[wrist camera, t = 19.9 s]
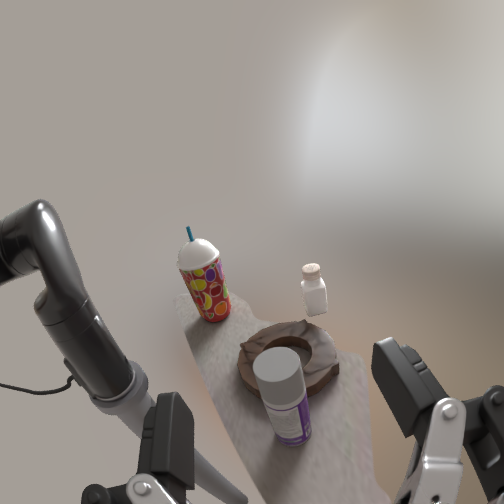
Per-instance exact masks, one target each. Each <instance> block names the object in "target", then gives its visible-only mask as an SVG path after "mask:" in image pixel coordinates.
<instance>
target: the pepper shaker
mask: <svg viewBox="0 0 504 504" xmlns="http://www.w3.org/2000/svg"><path fill="white" fill-rule="evenodd" d="M302 273H303V279H304V280H303V281H302V282H301V288H302V295H303V302H304V306H305V309H306V312H307V314H308V316H315V315H319V314H323V313H326V312H327V310H328V308H327V296H326V286H325V284H324V282H323V280H322V278H320V277H321V275H320V266H319V265H318V264H314V263H312V264H307V265H305V266H304V267H302Z"/></svg>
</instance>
